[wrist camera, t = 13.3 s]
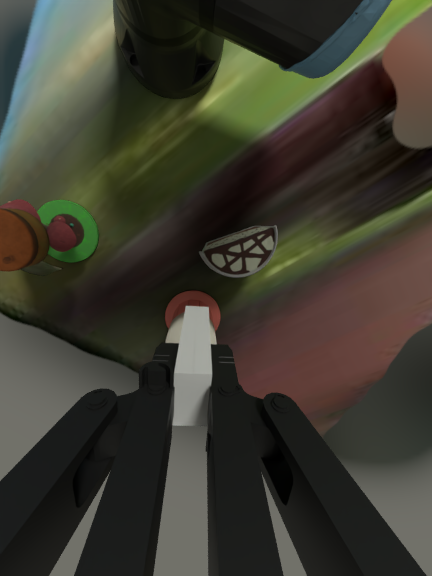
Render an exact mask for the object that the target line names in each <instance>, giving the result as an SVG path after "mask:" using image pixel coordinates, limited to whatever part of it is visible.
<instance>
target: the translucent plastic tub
mask: <svg viewBox="0 0 432 576" xmlns="http://www.w3.org/2000/svg"><path fill="white" fill-rule="evenodd" d="M98 240H99V232H98V228H97V225H96V222H95V220H94V219H93V217H92V216H91V215H90V213H89V212H88V211H87V210H86V209H84V208H83V207H82V206H80V205H78V204H76V203H74V202H71V201H66V200H54V201H51V202H48V203H46V204H44V205H43V206H42V207H41V208H40V209H39V210H38V212H37V211H36V210H35V209H34V207H33V206H32V205H31V204H29V203H28V202H26V201H24V200H14V201H11V202H10V201H8V203H6V204H4V205H2V206H0V271H15V270H19V269H21V270H23V271H26V272H28V273H32V274H36V275H41V276H45V275H48V274H50V273H52V272H54V271H58V270H61V269H63V268H59V267H55V266H52V265H50V264H47V263H45V262H43V261H42V260H43V259H44V258H45V257H46V256H47V254H49V255H50V256H52V257H53V258H55V259H57V260H60V261H63V262H79V261H82V260H84V259H86V258H88V257H89V256H90V255H92V253H93V252H94V251H95V249H96V247H97V245H98Z"/></svg>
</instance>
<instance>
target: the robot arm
mask: <svg viewBox="0 0 432 576" xmlns="http://www.w3.org/2000/svg"><path fill="white" fill-rule="evenodd" d="M391 1H392V0H113V12H114V26H115V32H116V36H117V40H118V43H119V46H120V49H121V51H122V54H123V56H124V58H125V60H126V62H127V64H128V66H129V68H130V70H131V71H132V73H133V74H134V75H135V77H136V78H137V79H138V80H139V81H140V82H141V83H142V84H143V85H144V86H145V87H146V88H147V89H149V90H150V91H152V92H154V93H155V94H158V95H160V96H163V97H166V98H173V99H178V98H185V97H189V96H191V95H194V94H196V93H197V92H199V91H200V90H202V89H203V88H204V87H205V86H206V85H207V84H208V83H209V82H210V80H211V79H212V78H213V76H214V74H215V72H216V71H217V68H218V66H219V63H220V60H221V56H222V51H223V44H224V39H226V40H228V41H230V42H232V43H234V44H236V45H238V46H241V47H243V48H245V49H247V50H249V51H251V52H253V53H255V54H257V55H259V56H262V57H264V58H266V59H268V60H270V61H272V62H274V63H276V64H278V65H279V67H280V68H281V69H282V70H284V71H289V72H290V71H293V72H295V73H298V74H300V75H303V76H305V77H308V78H319V77H323V76H325V75H327V74H329V73H330V72H332V71H333V70H335V69H336V68H337V67H338V66H340V65H341V64H342V63H343V62H344V61H345V60H346V59H347V58H348V57H349V56H350V55H351V54H352V53H353V51H354V50H355V49H356V48H357V47H358V46H359V44H360V43H361V42H362V41H363V40H364V38H365V37H366V36H367V35H368V33H369V32H370V31H371V29H372V28H373V27H374V25H375V24H376V23H377V21H378V20H379V18H380V17H381V16H382V14H383V13H384V11H385V10H386V8H387V7H388V5H389V4H390V2H391ZM207 424H208V431H207V441H206V451H207V487H208V488H207V490H208V492H207V494H208V573H209V574H208V575H209V576H283V571H282V567H281V562H280V558H279V553H278V548H277V543H276V539H275V534H274V530H273V525H272V520H271V516H270V511H269V506H268V502H267V497H266V492H265V488H264V483H263V479H262V474H263V477H264V479H265V481H266V483H267V486H268V488H269V490H270V492H271V495H272V497H273V499H274V501H275V504H276V506H277V508H278V511H279V513H280V515H281V517H282V519H283V522H284V524H285V526H286V529H287V531H288V533H289V536H290V538H291V540H292V542H293V545H294V547H295V549H296V551H297V554H298V556H299V558H300V561H301V563H302V565H303V567H304V569H305V571H306V574H307V576H426V574H425V573H424V572H423V570H422V569H421V568H420V566H419V565H418V564H417V562H416V561H415V560H414V558H413V557H412V556H411V555H410V553H409V552H408V551H407V549H406V548H405V547H404V545H403V544H402V543H401V541H400V540H399V539H398V537H397V536H396V535H395V533H394V532H393V531H392V530H391V528H390V527H389V526H388V524H387V523H386V522H385V520H384V519H383V518H382V516H381V515H380V514H379V512H378V511H377V510H376V508H375V507H374V506H373V504H372V503H371V502H370V500H369V499H368V498H367V497H366V495H365V494H364V493H363V491H362V490H361V489H360V487H359V486H358V485H357V483H356V482H355V481H354V479H353V478H352V477H351V476H350V474H349V473H348V471H347V470H346V469H345V468H344V466H343V465H342V464H341V462H340V461H339V460H338V458H337V457H336V456H335V454H334V453H333V452H332V450H331V449H330V448H329V446H328V445H327V444H326V442H325V441H324V440H323V439H322V437H321V436H320V435H319V433H318V432H317V431H316V429H315V428H314V427H313V425H312V424H311V423H310V421H309V420H308V419H307V417H306V416H305V415H304V414H303V412H302V411H301V410H300V408H299V407H298V406H297V404H296V403H295V402H294V401H293V400H292V399H291V398H290V397H288V396H286V395H284V394H281V393H270V394H267V395H266V396H265V397H264V399H260V398H257V397H254V396H251V395H249V394H247V393H246V392H244V390H243V388H242V386H241V385H239V383H238V378H237V373H236V368H235V363H234V358H233V353H232V350H231V349H230V348H229V346H228V345H220V344H211V342H210V323H209V307H199V306H186V308H185V313H184V319H183V325H182V330H181V336H180V342H179V343H161V344H160V345H159V346H158V347H157V348H156V351H155V354H154V357H153V361H152V362H149V363H146V364H145V365H143V366H142V367H141V368H140V370H139V389H138V390H136V391H134V392H133V393H129V394H126V395H121V396H117V395H116V394H115V392H114V391H112V390H109V389H97V390H93V391H91V392H89V393H87V394H85V395H84V396H83V397H82V398H81V399H80V400H79V401H78V402H77V403H76V404H75V405H74V406H73V407H72V408H71V409H70V410H69V411H68V412H67V413H66V414H65V415H64V416H63V417H62V418H61V419H60V420H59V421H58V422H57V423H56V424H55V426H53V427H52V428H51V429H50V430H49V432H48V433H47V434H46V435H45V436H44V437H43V438H42V439H41V440H40V441H39V442H38V443H37V444H36V445H35V446H34V447H33V448H32V449H31V450H30V451H29V452H28V453H27V454H26V455H25V456H24V457H23V458H22V460H20V462H18V464H16V465H15V467H14V468H13V469H12V470H11V471H10V472H9V473H8V474H7V475H6V476H5V477H4V478H3V479H2V480H1V481H0V576H49V575H50V573H51V571H52V569H53V568H54V566H55V564H56V563H57V561H58V559H59V558H60V556H61V554H62V552H63V551H64V549H65V547H66V546H67V544H68V542H69V540H70V539H71V537H72V535H73V533H74V532H75V530H76V528H77V527H78V525H79V523H80V522H81V520H82V518H83V517H84V515H85V513H86V511H87V510H88V508H89V506H90V505H91V503H92V501H93V499H94V498H95V496H96V494H97V493H98V491H99V489H100V487H101V486H102V484H103V482H104V481H105V478H106V477H107V476H108V474H109V472H110V474H109V477H108V479H107V482H106V485H105V488H104V491H103V494H102V497H101V500H100V502H99V505H98V508H97V511H96V514H95V517H94V520H93V523H92V525H91V529H90V532H89V534H88V538H87V540H86V543H85V546H84V549H83V551H82V554H81V557H80V560H79V563H78V566H77V569H76V572H75V574H74V576H153V572H154V565H155V558H156V550H157V543H158V535H159V528H160V520H161V513H162V505H163V498H164V490H165V483H166V476H167V468H168V460H169V453H170V445H171V438H172V425H174V426H177V425H178V426H207ZM110 470H111V471H110ZM261 472H262V474H261Z"/></svg>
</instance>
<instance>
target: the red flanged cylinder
mask: <svg viewBox="0 0 432 576" xmlns="http://www.w3.org/2000/svg"><path fill="white" fill-rule="evenodd" d="M186 306H199V307H209V318H210V320H211V321H212V322H213V325H214V328H215V331H216V330H217V328H218V326H219V323H220V310H219V307H218V304H217V303H216V301H215V300H214V299H213V298H212V297H211V296H210V295H208V294H206V293H204V292H202V291H197V290H188V291H184V292H181V293H179V294H178V295H176V296H175V297H174V298H173V299H172V300H171V301H170V302H169V304H168V306H167V309H166V312H165V321H166V325H167V327H168V329H169V327H170V324H171V322H172V321H173V319H174V318H175V317H176V316H178V315H179V314H181V313H183V312H185V308H186Z"/></svg>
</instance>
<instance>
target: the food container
mask: <svg viewBox="0 0 432 576" xmlns="http://www.w3.org/2000/svg"><path fill="white" fill-rule="evenodd" d="M277 239H278V232H277V226H276V225H275V226H253V227H250V228H247V229H244V230H241V231H238V232H235V233H232V234H229V235H227V236H224V237H221V238H218V239H215V240H212V241H209V242H207V243H206V245H205V247H204V248H203V250H202V252H201V251H199V253H200V256H201V258H202V259H203V261H204V262H205V263H206V264H207V265H208V267H210V268H211V269H212V270H213V271H215V272H217V273H218V274H221V275H224V276H227V277H232V278H240V277H246V276H250V275H252V274H254V273H256V272H258V271H259V270H261V269H262V268H263V267H264V266H265V265H266V264H267V263H268V262H269V260H270V259H271V257H272V256H273V254H274V251H275V249H276V245H277Z"/></svg>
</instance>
